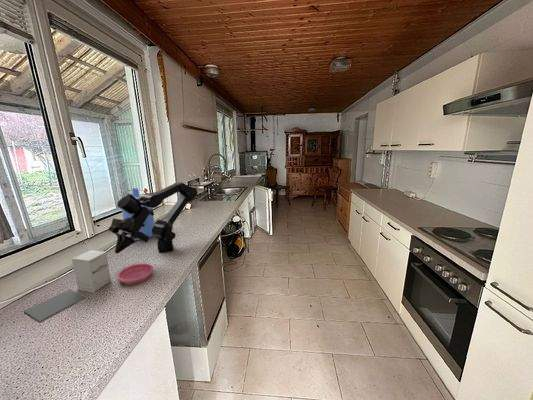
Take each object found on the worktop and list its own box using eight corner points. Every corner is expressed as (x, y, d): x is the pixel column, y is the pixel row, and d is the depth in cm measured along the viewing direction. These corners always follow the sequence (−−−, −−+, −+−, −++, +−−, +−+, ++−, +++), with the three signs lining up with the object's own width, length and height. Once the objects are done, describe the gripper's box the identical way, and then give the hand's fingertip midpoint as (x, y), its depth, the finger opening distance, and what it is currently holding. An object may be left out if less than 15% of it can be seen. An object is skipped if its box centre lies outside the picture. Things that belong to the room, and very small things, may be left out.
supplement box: (94, 292, 80) (87, 260, 77) (77, 290, 81) (70, 258, 78) (111, 281, 87) (106, 251, 84) (96, 278, 88) (90, 249, 85)
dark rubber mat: (69, 290, 81) (69, 289, 81) (85, 298, 77) (85, 297, 77) (24, 311, 70) (23, 310, 70) (40, 322, 66) (39, 321, 66)
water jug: (147, 241, 123) (141, 191, 117) (119, 240, 124) (111, 191, 117) (160, 230, 138) (156, 186, 132) (136, 230, 139) (129, 186, 132)
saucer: (160, 275, 91) (159, 268, 91) (129, 291, 81) (128, 284, 80) (142, 266, 97) (141, 260, 97) (111, 281, 87) (110, 274, 86)
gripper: (109, 207, 95) (84, 241, 87) (138, 213, 87) (114, 250, 80) (129, 219, 103) (108, 251, 96) (157, 225, 96) (137, 260, 89)
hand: (116, 252), depth 90 cm, fingers closed
